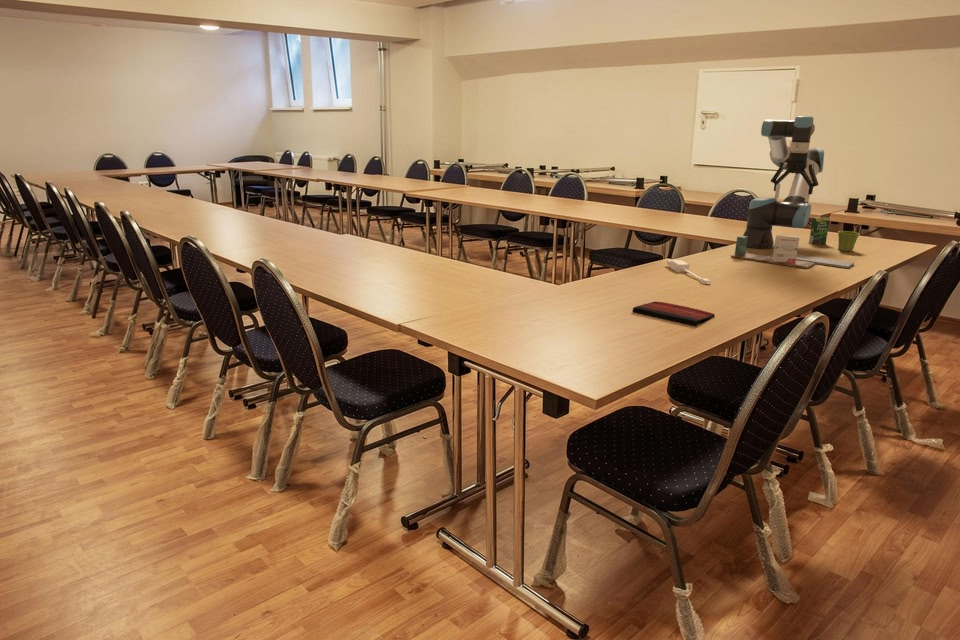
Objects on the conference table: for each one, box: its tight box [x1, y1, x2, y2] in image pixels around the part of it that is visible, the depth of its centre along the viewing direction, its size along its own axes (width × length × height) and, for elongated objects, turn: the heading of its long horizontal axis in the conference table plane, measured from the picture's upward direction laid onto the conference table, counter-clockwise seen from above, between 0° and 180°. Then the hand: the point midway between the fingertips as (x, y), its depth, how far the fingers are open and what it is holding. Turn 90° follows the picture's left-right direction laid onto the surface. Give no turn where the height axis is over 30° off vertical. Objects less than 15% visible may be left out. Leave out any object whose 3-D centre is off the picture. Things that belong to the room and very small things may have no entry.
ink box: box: [772, 234, 800, 263], centre depth 284 cm, size 9×5×12 cm, turn 78°
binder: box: [632, 301, 716, 328], centre depth 208 cm, size 16×2×21 cm
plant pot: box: [837, 230, 861, 252], centre depth 317 cm, size 9×9×9 cm
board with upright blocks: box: [730, 235, 816, 269], centre depth 288 cm, size 32×11×9 cm, turn 50°
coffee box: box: [808, 217, 831, 245], centre depth 332 cm, size 8×3×13 cm, turn 100°
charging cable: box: [666, 259, 712, 285], centre depth 260 cm, size 5×32×3 cm, turn 10°
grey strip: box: [769, 238, 855, 269], centre depth 291 cm, size 32×11×9 cm, turn 50°
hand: (791, 200), depth 302 cm, fingers open, 13 cm apart
